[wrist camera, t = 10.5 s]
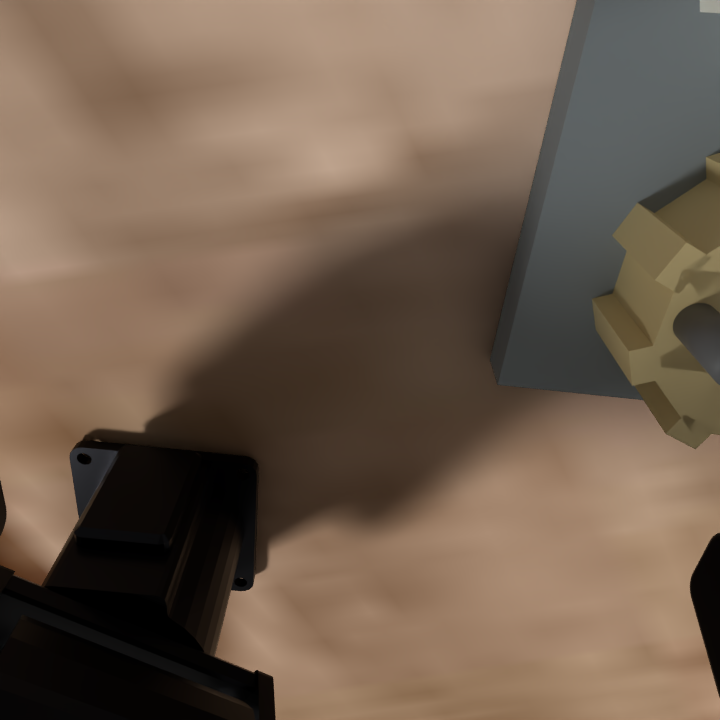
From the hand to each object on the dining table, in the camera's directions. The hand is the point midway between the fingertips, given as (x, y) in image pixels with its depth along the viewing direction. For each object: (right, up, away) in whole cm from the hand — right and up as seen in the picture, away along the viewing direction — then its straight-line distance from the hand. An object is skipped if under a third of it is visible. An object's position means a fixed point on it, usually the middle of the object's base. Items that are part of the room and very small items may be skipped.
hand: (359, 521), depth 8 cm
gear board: (+10, +8, +9) cm, 16 cm away
